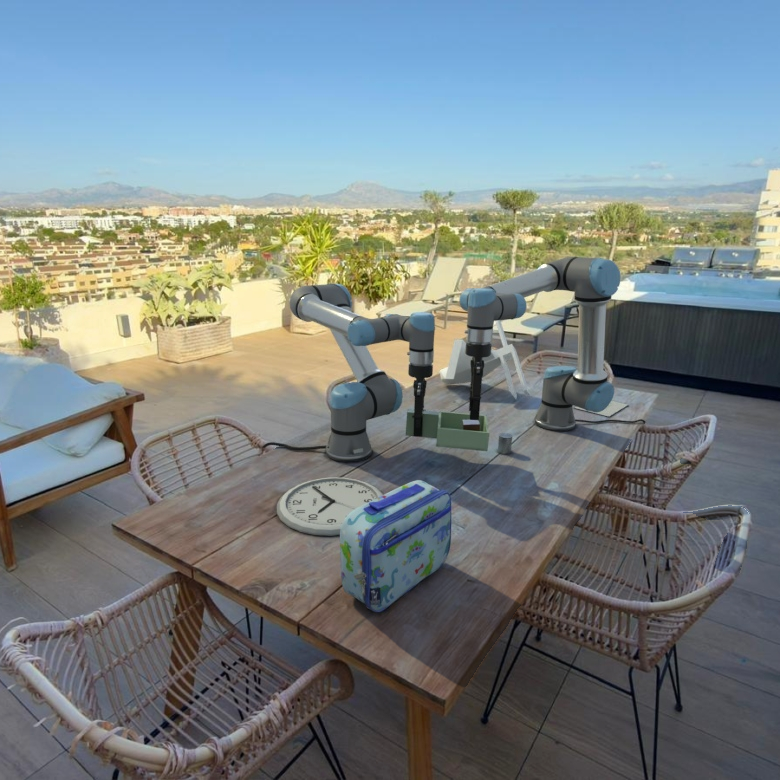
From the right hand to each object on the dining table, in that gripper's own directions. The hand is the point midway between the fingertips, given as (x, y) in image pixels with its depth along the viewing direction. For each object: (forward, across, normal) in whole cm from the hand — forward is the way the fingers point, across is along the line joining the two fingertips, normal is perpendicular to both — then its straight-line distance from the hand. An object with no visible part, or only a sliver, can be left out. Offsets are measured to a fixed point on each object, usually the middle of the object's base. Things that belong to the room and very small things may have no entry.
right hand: (473, 414), depth 161 cm
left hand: (+9, -3, -17) cm, 19 cm away
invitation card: (+18, -70, +58) cm, 93 cm away
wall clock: (+18, +29, -38) cm, 51 cm away
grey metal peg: (+18, -15, +12) cm, 26 cm away
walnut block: (+8, 0, 0) cm, 8 cm away
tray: (+9, -3, -8) cm, 13 cm away
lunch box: (+18, +59, -17) cm, 64 cm away
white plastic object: (+18, -82, +6) cm, 84 cm away
